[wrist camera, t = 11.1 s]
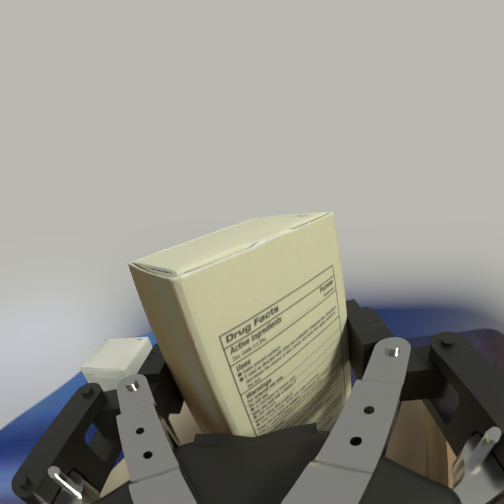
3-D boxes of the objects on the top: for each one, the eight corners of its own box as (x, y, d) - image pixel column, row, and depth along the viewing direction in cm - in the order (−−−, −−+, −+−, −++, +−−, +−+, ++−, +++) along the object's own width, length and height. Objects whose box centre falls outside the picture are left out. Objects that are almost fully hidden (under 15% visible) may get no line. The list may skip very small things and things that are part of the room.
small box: (122, 374, 26) (105, 337, 25) (166, 375, 25) (150, 335, 24) (99, 406, 20) (76, 366, 19) (147, 412, 20) (124, 369, 19)
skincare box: (297, 410, 15) (258, 214, 13) (354, 435, 12) (340, 207, 9) (216, 470, 11) (121, 257, 9) (271, 515, 8) (169, 269, 5)
